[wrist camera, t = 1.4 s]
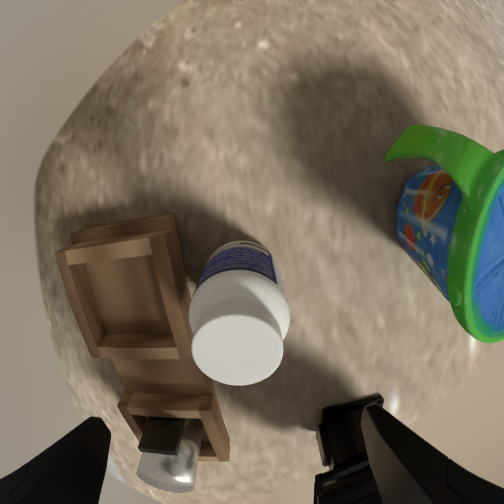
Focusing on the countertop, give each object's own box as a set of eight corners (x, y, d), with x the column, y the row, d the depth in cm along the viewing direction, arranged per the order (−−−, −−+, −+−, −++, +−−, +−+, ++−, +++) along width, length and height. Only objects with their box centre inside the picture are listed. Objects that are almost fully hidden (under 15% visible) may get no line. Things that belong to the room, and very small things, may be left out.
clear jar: (195, 403, 22) (182, 467, 15) (208, 437, 23) (200, 494, 17) (146, 402, 22) (124, 459, 15) (163, 435, 24) (149, 488, 17)
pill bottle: (190, 264, 20) (151, 333, 11) (253, 224, 19) (255, 273, 10) (232, 320, 21) (223, 408, 13) (293, 286, 20) (318, 365, 12)
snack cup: (497, 237, 19) (572, 274, 9) (429, 318, 21) (493, 387, 12) (413, 93, 16) (508, 64, 6) (322, 185, 18) (393, 208, 8)
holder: (177, 212, 19) (162, 222, 15) (231, 439, 26) (230, 464, 22) (78, 229, 19) (52, 242, 16) (158, 437, 26) (152, 460, 23)
